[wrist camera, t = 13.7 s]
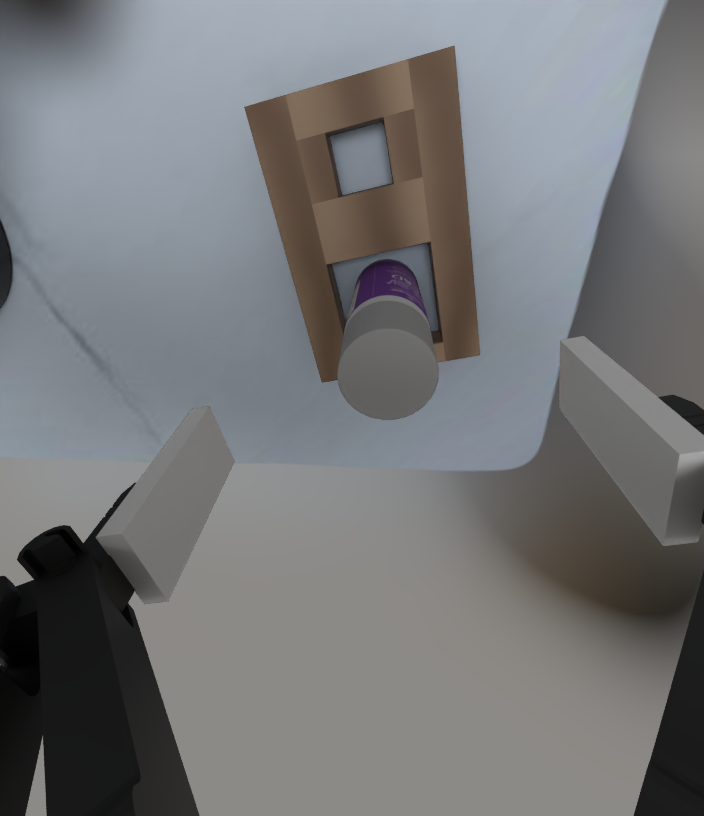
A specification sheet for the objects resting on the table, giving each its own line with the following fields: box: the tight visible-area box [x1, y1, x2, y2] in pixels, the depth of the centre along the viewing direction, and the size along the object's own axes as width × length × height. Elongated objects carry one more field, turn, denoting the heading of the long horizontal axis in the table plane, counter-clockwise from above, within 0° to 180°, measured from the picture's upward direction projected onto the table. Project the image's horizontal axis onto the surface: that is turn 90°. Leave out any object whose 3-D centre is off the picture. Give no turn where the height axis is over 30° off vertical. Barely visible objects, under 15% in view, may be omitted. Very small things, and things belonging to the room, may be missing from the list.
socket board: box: [244, 46, 480, 383], centre depth 29 cm, size 12×18×2 cm, turn 13°
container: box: [337, 259, 438, 420], centre depth 25 cm, size 5×5×15 cm
